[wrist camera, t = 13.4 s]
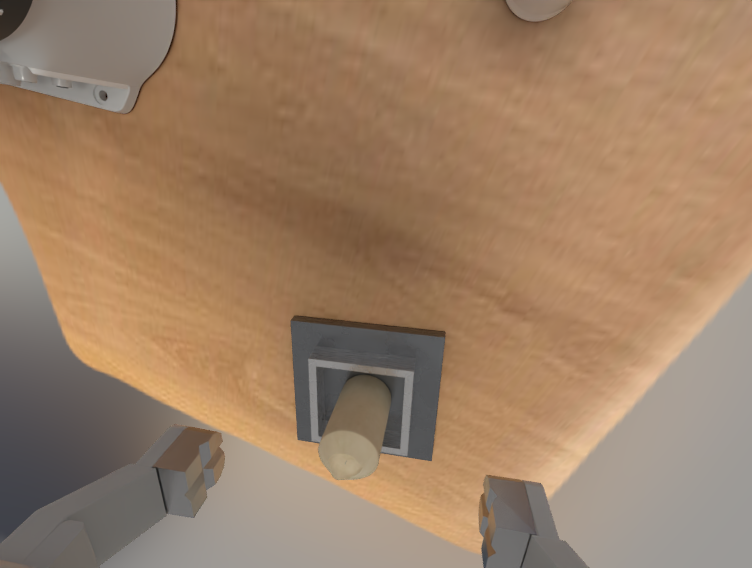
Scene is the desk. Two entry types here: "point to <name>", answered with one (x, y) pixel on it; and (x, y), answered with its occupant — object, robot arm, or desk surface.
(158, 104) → the desk surface
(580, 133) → the desk surface
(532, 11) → the drinking glass
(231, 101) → the desk surface
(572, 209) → the desk surface
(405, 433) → the candle stand
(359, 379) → the candle
